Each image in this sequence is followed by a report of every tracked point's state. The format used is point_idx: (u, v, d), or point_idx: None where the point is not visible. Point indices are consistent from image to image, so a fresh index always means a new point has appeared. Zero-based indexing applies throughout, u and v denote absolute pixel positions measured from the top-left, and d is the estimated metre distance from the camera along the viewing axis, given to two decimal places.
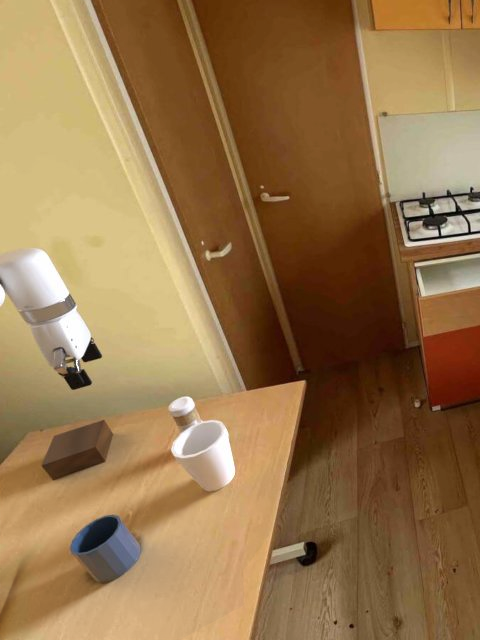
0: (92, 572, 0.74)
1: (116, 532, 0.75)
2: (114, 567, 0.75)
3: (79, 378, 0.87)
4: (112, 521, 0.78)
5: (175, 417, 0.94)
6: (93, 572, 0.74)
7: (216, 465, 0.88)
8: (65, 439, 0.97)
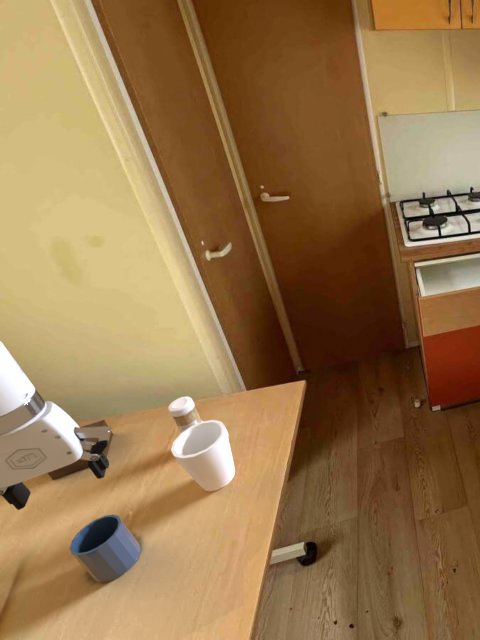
0: (92, 572, 0.74)
1: (116, 532, 0.75)
2: (114, 567, 0.75)
3: (104, 455, 0.72)
4: (112, 521, 0.78)
5: (175, 417, 0.94)
6: (93, 572, 0.74)
7: (216, 465, 0.88)
8: None
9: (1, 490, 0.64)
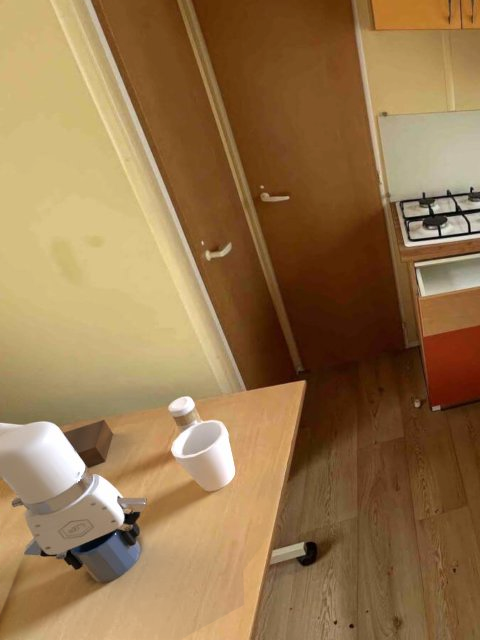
0: (92, 572, 0.74)
1: (116, 532, 0.75)
2: (114, 567, 0.75)
3: (135, 523, 0.78)
4: None
5: (175, 417, 0.95)
6: (93, 572, 0.74)
7: (216, 465, 0.88)
8: None
9: (63, 554, 0.72)
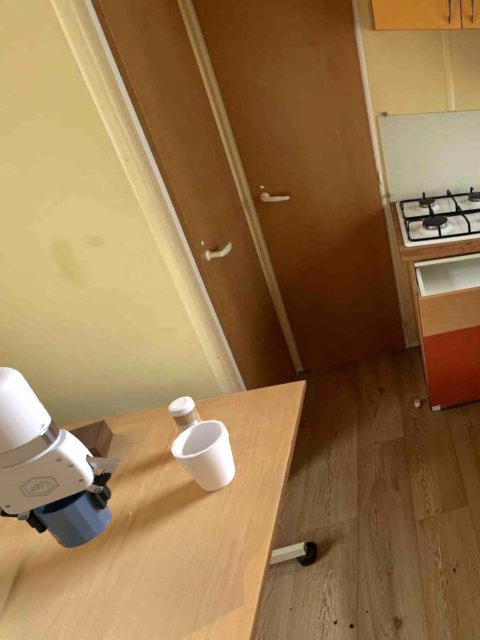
0: (57, 536, 0.69)
1: (85, 493, 0.70)
2: (82, 531, 0.70)
3: (106, 486, 0.73)
4: None
5: (175, 417, 0.94)
6: (58, 536, 0.69)
7: (216, 465, 0.88)
8: None
9: (25, 515, 0.66)
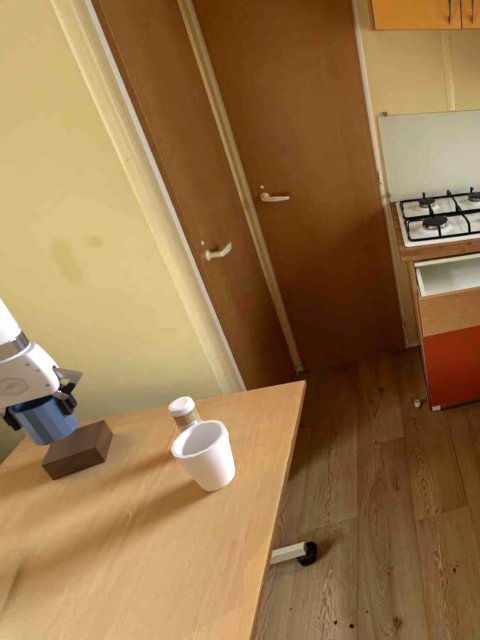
0: (29, 433, 0.81)
1: (52, 399, 0.82)
2: (50, 431, 0.83)
3: (72, 396, 0.86)
4: None
5: (175, 417, 0.94)
6: (30, 433, 0.81)
7: (216, 465, 0.88)
8: (65, 439, 0.97)
9: (2, 413, 0.79)
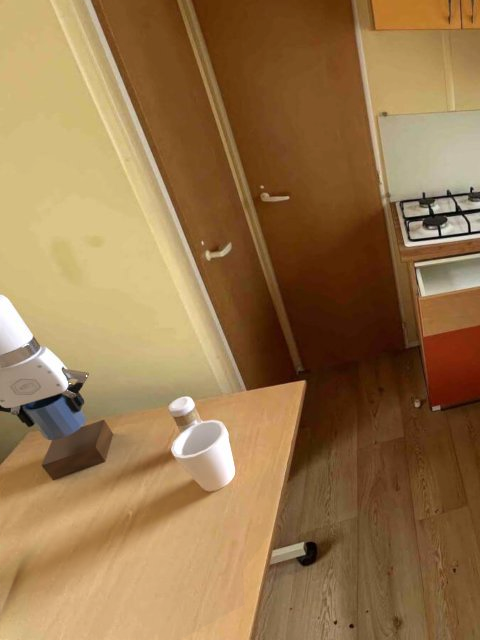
0: (42, 429, 0.90)
1: (62, 397, 0.91)
2: (61, 427, 0.91)
3: (80, 395, 0.94)
4: None
5: (175, 417, 0.95)
6: (43, 429, 0.90)
7: (216, 465, 0.88)
8: (65, 439, 0.97)
9: (16, 411, 0.87)
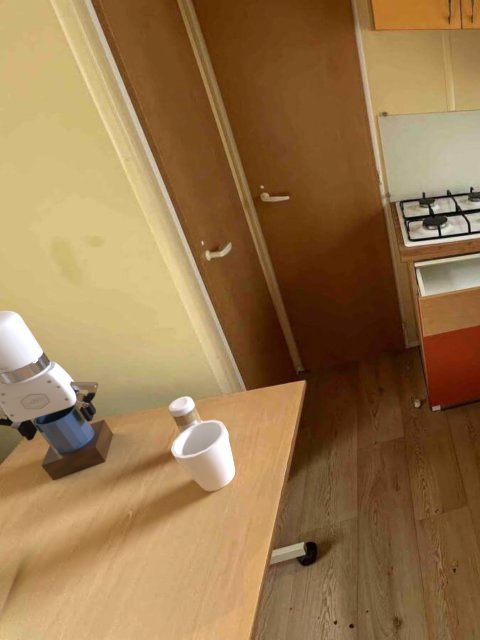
0: (52, 443, 0.92)
1: (72, 412, 0.93)
2: (70, 441, 0.93)
3: (92, 404, 0.96)
4: (70, 407, 0.96)
5: (175, 417, 0.94)
6: (53, 443, 0.92)
7: (216, 465, 0.88)
8: None
9: (16, 424, 0.88)
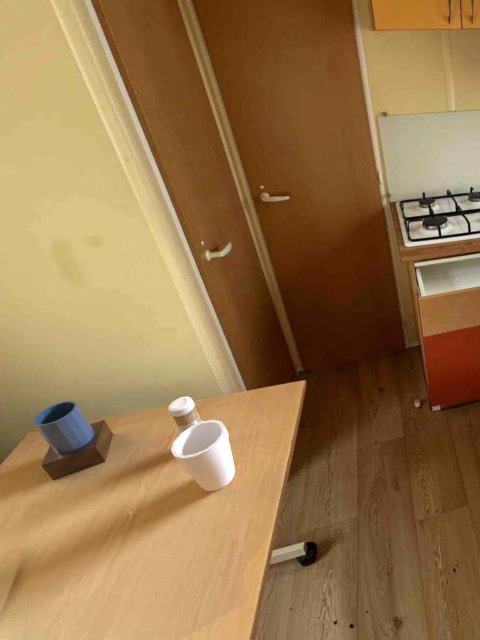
0: (52, 443, 0.92)
1: (72, 412, 0.93)
2: (70, 441, 0.93)
3: None
4: (70, 407, 0.96)
5: (175, 417, 0.94)
6: (53, 443, 0.92)
7: (216, 465, 0.88)
8: None
9: None
